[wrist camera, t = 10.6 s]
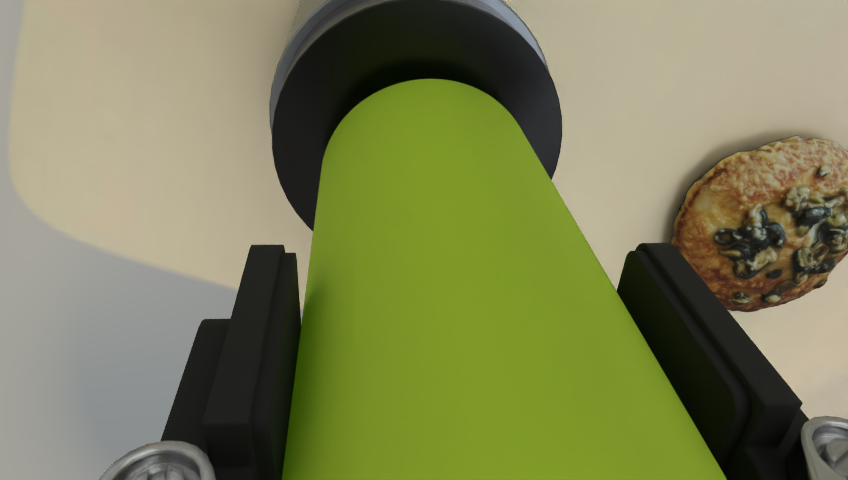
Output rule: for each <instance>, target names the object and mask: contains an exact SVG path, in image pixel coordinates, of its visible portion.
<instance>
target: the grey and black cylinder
mask: <svg viewBox="0 0 848 480" xmlns="http://www.w3.org/2000/svg"><path fill="white" fill-rule="evenodd" d="M418 79H444V80H451V81H456V82H460V83H463V84H466V85H469V86H472V87H474V88H477V89H479V90H481V91H483V92H484V93H486V94H488V95H489V96H491V97H492V98H494V99H495V100H497V101H498V102H499V103H500V104H501V105H502V106H504V107H505V108H506V109H507V110H508V112H509V113H510V114H511V115H512V116H513V118H514V119H515V120H516V122H517V123H518V125H519V126H520V128H521V130H522V131H523V133H524V135H525V137H526V138H527V140H528V142H529V143H530V145H531V147H532V148H533V150H534V152H535V154H536V155H537V157H538V159H539V160H540V162H541V164H542V165H543V167H544V169H545V171H546V172H547V174H548V176H549V177H550V179H551V180H552V177H553V175H554V172H555V170H556V166H557V162H558V158H559V154H560V148H561V140H562V115H561V109H560V103H559V98H558V95H557V92H556V88H555V85H554V82H553V80H552V78H551V76H550V73H549V70H548V66H547V63H546V60H545V57H544V55H543V53H542V51H541V49H540V46H539V44H538V42H537V40H536V39H535V37H534V36H533V34H532V33H531V31H530V30H529V28H528V27H527V25H526V24H525V23H524V22H523V21H522V20H521V18H520V17H519V16H518V15H517V14H516V13H515V12H514V11H513V10H512V9H511V8H510V7H509V6H508V5H507V4H506V3H505V2H504V1H503V0H302V1H301V4H300V7H299V9H298V12H297V15H296V17H295V20H294V23H293V25H292V28H291V31H290V33H289V36H288V39H287V41H286V44H285V47H284V50H283V52H282V55H281V58H280V60H279V63H278V66H277V69H276V72H275V76H274V80H273V83H272V88H271V96H270V104H269V105H270V127H271V134H272V151H273V157H274V164H275V168H276V172H277V175H278V178H279V181H280V184H281V186H282V188H283V191H284V193H285V195H286V197H287V199H288V201H289V202H290V204H291V205H292V207H293V208H294V210H295V212H296V213H297V214H298V216H299V217H300V218H301V219H302V220H303V221H304V223H305V224H306V225H307V226H308V227H309V228H310V229H311V230H312V231H313V230H314V223H315V215H316V207H317V199H318V191H319V183H320V176H321V168H322V162H323V157H324V154H325V151H326V148H327V145H328V143H329V140H330V138H331V136H332V135H333V133H334V131H335V129H336V128H337V126H338V125H339V124H340V122H341V121H342V120H343V119H344V117H345V116H346V115H347V114H348V113H349V112H350V111H351V110H352V109H353V108H354V107H355V106H357V105H358V104H359V103H360V102H362V101H363V100H364V99H366V98H367V97H369V96H371V95H372V94H374V93H376V92H378V91H380V90H382V89H384V88H386V87H389V86H392V85H395V84H398V83H402V82H406V81H411V80H418Z"/></svg>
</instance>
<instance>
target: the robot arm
mask: <svg viewBox="0 0 848 480" xmlns="http://www.w3.org/2000/svg"><path fill="white" fill-rule="evenodd" d="M617 293H618V295H619V297H620V298H621V300H622V302H623V303H624V305H625V307H626V308H627V310H628V312H629V314H630V315H631V317H632V319H633V320H634V322H635V324H636V325H637V327H638V329H639V331H640V332H641V334H642V336H643V337H644V339H645V341H646V343H647V344H648V346H649V348H650V349H651V351H652V353H653V354H654V356H655V358H656V360H657V361H658V363H659V365H660V366H661V368H662V370H663V371H664V373H665V375H666V377H667V378H668V380H669V382H670V383H671V385H672V387H673V388H674V390H675V392H676V394H677V395H678V397H679V399H680V400H681V402H682V404H683V405H684V407H685V409H686V411H687V412H688V414H689V416H690V417H691V419H692V421H693V423H694V424H695V426H696V428H697V429H698V431H699V433H700V434H701V436H702V438H703V440H704V441H705V443H706V445H707V446H708V448H709V450H710V451H711V453H712V455H713V457H714V458H715V460H716V462H717V463H718V465H719V467H720V468H721V470H722V472H723V474H724V475H725V477H726V479H727V480H848V420H847V419H844V418H838V417H831V416H822V417H814V418H812V419H810V420H809V419H808V418H807V416H806V415H805V414H804V413H803V411H802V410H801V409H800V407H801V405H802V402H801V400H800V399H799V398H798V397H797V396H796V394H795V393H794V392H793V391H792V389H791V388H790V387H789V386H788V384H787V383H786V382H785V381H784V380H783V378H782V377H781V376H780V375H779V373H778V372H777V371H776V370H775V368H774V367H773V366H772V365H771V364H770V362H769V361H768V360H767V359H766V357H765V356H764V355H763V354H762V352H761V351H760V350H759V349H758V347H757V346H756V345H755V344H754V343H753V341H752V340H751V339H750V338H749V336H748V335H747V334H746V333H745V331H744V330H743V329H742V328H741V327H740V325H739V324H738V323H737V322H736V320H735V319H734V318H733V317H732V315H731V314H730V313H729V312H728V311H727V309H726V308H725V307H724V306H723V304H722V303H721V302H720V301H719V299H718V298H717V297H716V296H715V294H714V293H713V292H712V291H711V290H710V288H709V287H708V286H707V285H706V283H705V282H704V281H703V280H702V278H701V277H700V276H699V275H698V274H697V272H696V271H695V270H694V269H693V267H692V266H691V265H690V264H689V262H688V261H687V260H686V259H685V258H684V256H683V255H682V254H681V253H680V251H679V250H678V249H677V248H676V247H675V246H674V245H673V244H671V243H641V244H639V245H638V246H637V248H636V250H635V251H630V252H629V253H628V254H627V257H626V259H625V263H624V267H623V270H622V274H621V278H620V281H619V285H618V288H617ZM300 332H301V317H300V302H299V287H298V272H297V259H296V253H285V249H284V245H251V247H250V250H249V253H248V257H247V261H246V264H245V268H244V272H243V275H242V279H241V283H240V286H239V290H238V294H237V297H236V301H235V305H234V308H233V312H232V316H231V319H204V320H203V321H202V322H201V324H200V326H199V328H198V331H197V334H196V337H195V340H194V343H193V346H192V349H191V352H190V355H189V358H188V361H187V364H186V367H185V370H184V373H183V376H182V379H181V382H180V385H179V388H178V391H177V394H176V397H175V400H174V403H173V406H172V409H171V412H170V415H169V417H168V421H167V424H166V426H165V430H164V433H163V435H162V438H161V441H160V442H156V443H151V444H146V445H144V446H142V447H139V448H137V449H135V450H132V451H130V452H128V453H127V454H125V455H124V456H123V457H121V458H120V459H118V460H117V461H115V462H114V463H113V464H112V465H111V466H110V467H109V468H108V469H107V471H106V472H105V473H104V474H103V475H102V476H101V477H100V479H99V480H282V473H283V465H284V458H285V450H286V442H287V434H288V426H289V418H290V411H291V403H292V395H293V387H294V379H295V371H296V364H297V356H298V348H299V340H300Z"/></svg>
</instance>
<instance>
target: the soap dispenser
mask: <svg viewBox="0 0 848 480" xmlns="http://www.w3.org/2000/svg"><path fill="white" fill-rule="evenodd" d="M282 480H727V479H726V477H725V475H724V474H723V472H722V470H721V468H720V467H719V465H718V463H717V462H716V460H715V458H714V457H713V455H712V453H711V451H710V450H709V448H708V446H707V445H706V443H705V441H704V440H703V438H702V436H701V434H700V433H699V431H698V429H697V428H696V426H695V424H694V423H693V421H692V419H691V417H690V416H689V414H688V412H687V411H686V409H685V407H684V405H683V404H682V402H681V400H680V399H679V397H678V395H677V394H676V392H675V390H674V388H673V387H672V385H671V383H670V382H669V380H668V378H667V377H666V375H665V373H664V371H663V370H662V368H661V366H660V365H659V363H658V361H657V360H656V358H655V356H654V354H653V353H652V351H651V349H650V348H649V346H648V344H647V343H646V341H645V339H644V337H643V336H642V334H641V332H640V331H639V329H638V327H637V325H636V324H635V322H634V320H633V319H632V317H631V315H630V314H629V312H628V310H627V308H626V307H625V305H624V303H623V302H622V300H621V298H620V297H619V295H618V293H617V291H616V290H615V288H614V286H613V285H612V283H611V281H610V280H609V278H608V276H607V274H606V273H605V271H604V269H603V268H602V266H601V264H600V263H599V261H598V259H597V257H596V256H595V254H594V252H593V251H592V249H591V247H590V245H589V244H588V242H587V240H586V239H585V237H584V235H583V234H582V232H581V230H580V228H579V227H578V225H577V223H576V222H575V220H574V218H573V217H572V215H571V213H570V211H569V210H568V208H567V206H566V205H565V203H564V201H563V200H562V198H561V196H560V194H559V193H558V191H557V189H556V188H555V186H554V184H553V182H552V181H551V179H550V177H549V176H548V174H547V172H546V171H545V169H544V167H543V165H542V164H541V162H540V160H539V159H538V157H537V155H536V154H535V152H534V150H533V148H532V147H531V145H530V143H529V142H528V140H527V138H526V137H525V135H524V133H523V131H522V130H521V128H520V126H519V125H518V123H517V122H516V120H515V119H514V118H513V116H512V115H511V114H510V113H509V112H508V110H507V109H506V108H505V107H504V106H502V105H501V104H500V103H499V102H498V101H497V100H495V99H494V98H492V97H491V96H489V95H488V94H486V93H484V92H483V91H481V90H479V89H477V88H474V87H472V86H469V85H466V84H463V83H460V82H456V81H451V80H444V79H418V80H411V81H406V82H402V83H398V84H395V85H392V86H389V87H386V88H384V89H382V90H380V91H378V92H376V93H374V94H372V95H371V96H369V97H367V98H366V99H364V100H363V101H362V102H360V103H359V104H358V105H357V106H355V107H354V108H353V109H352V110H351V111H350V112H349V113H348V114H347V115H346V116H345V117H344V119H343V120H342V121H341V122H340V124H339V125H338V126H337V128H336V129H335V131H334V133H333V135H332V136H331V138H330V140H329V143H328V145H327V148H326V151H325V154H324V157H323V162H322V168H321V176H320V183H319V191H318V199H317V207H316V215H315V223H314V230H313V238H312V246H311V254H310V262H309V270H308V277H307V285H306V293H305V301H304V309H303V317H302V324H301V332H300V340H299V348H298V356H297V364H296V371H295V379H294V387H293V395H292V403H291V411H290V418H289V426H288V434H287V442H286V450H285V458H284V465H283V473H282Z"/></svg>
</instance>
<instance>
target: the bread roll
mask: <svg viewBox="0 0 848 480" xmlns="http://www.w3.org/2000/svg"><path fill="white" fill-rule="evenodd" d="M679 209H680V212H679V214H678V216H677V218H676V219H675V221H674V227H673V235H672V238H671V244H673V245H674V246H675V247H676V248H677V249H678V250H679V251H680V253H681V254H682V255H683V256H684V258H685V259H686V260H687V261H688V262H689V264H690V265H691V266H692V267H693V269H694V270H695V271H696V272H697V274H698V275H699V276H700V277H701V278H702V280H703V281H704V282H705V283H706V285H707V286H708V287H709V288H710V290H711V291H712V292H713V293H714V294H715V296H716V297H717V298H718V299H719V301H720V302H721V303H722V304H723V306H724V307H725V308H726V309H727V310H731V311H742V312H752V311H757V310H759V309H764V308H768V307H773V306H778V305H781V304H786V303H787V302H789V301H792V300H795V299H797V298H800V297H801V296H803V295H805V294H806V293H808V292H810V291H811V290H813V289H816V288H820V287H821V286H823V285H824V284H825V283H826V281H827V277H828V275H829V273H830V272H831V271H832V270H833V269H834V267H835V266H836V265H837V264H838V263H839V262H840V261H841V260H842V259H843V258H844V257H845V256H846V255H847V254H848V151H846V150H844V149H842V148H841V147H840V146H839V145H838V144H836V143H834V142H832V141H829V140H819V139H817V138H800V137H799V136H797V135H795V136H793V137H790V139H782V140H779V141H778V142H772V143H769V144H767V145H764V146H762V147H760V148H757V149H756V150H753V151H749V152H737V153H735V154H733V155H732V156H729V157H727V158H725V159H723V160H722V161H720V162H719V163H718V164H716V166H715V167H714V168H712V169H711V170H710V171H708V172H707V173H706V174H705V175H704V176H702V177H700V178H699V180H697V181H696V182H695V183H694V184H693V186H692V187H691V188H690V189H689V190H688V192H687V195H686V197H685V199H684V202H683V204H682V206H681V207H680V208H679Z"/></svg>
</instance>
